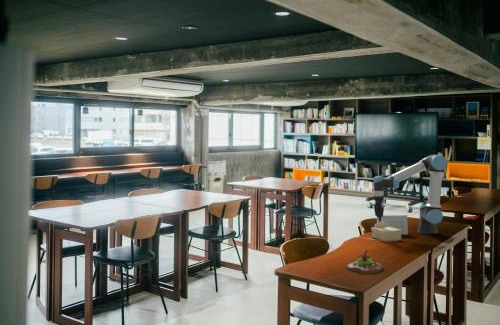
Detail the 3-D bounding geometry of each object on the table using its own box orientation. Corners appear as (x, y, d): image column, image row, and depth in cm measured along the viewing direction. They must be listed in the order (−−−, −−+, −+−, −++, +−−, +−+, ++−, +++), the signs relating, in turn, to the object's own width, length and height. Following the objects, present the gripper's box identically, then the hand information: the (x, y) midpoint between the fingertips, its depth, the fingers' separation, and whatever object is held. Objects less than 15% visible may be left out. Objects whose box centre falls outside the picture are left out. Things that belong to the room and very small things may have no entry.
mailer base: (387, 235, 367) (387, 227, 367) (401, 240, 350) (400, 231, 350) (372, 237, 363) (372, 228, 363) (385, 241, 346) (385, 232, 346)
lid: (388, 228, 367) (388, 222, 367) (401, 232, 350) (401, 226, 350) (371, 230, 362) (371, 223, 362) (384, 234, 345) (384, 227, 345)
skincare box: (406, 233, 375) (406, 214, 375) (408, 234, 370) (407, 215, 369) (380, 233, 377) (380, 214, 377) (381, 234, 372) (381, 215, 371)
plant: (388, 268, 275) (388, 250, 274) (371, 275, 261) (371, 256, 261) (360, 263, 289) (360, 245, 289) (342, 269, 276) (341, 251, 275)
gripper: (370, 195, 370) (370, 224, 371) (379, 196, 357) (379, 226, 358) (378, 194, 372) (378, 223, 373) (387, 196, 359) (387, 226, 360)
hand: (379, 225), depth 365 cm, fingers closed
